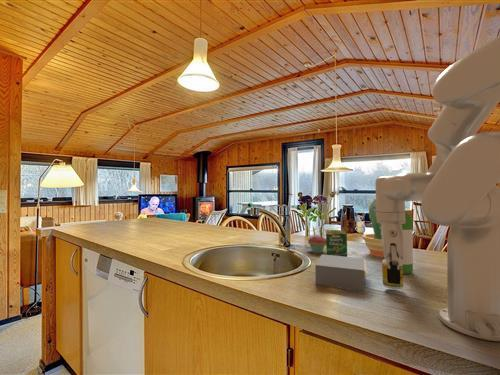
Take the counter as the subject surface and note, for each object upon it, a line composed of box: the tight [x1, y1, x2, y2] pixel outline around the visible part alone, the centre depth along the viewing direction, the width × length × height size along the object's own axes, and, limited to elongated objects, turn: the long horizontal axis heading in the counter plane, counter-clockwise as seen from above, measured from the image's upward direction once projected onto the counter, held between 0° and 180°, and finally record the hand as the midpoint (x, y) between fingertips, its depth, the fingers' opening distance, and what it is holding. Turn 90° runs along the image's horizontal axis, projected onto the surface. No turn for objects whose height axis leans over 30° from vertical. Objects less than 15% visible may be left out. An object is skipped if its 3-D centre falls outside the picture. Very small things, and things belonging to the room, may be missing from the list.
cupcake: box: [307, 226, 326, 254], centre depth 125 cm, size 9×8×12 cm
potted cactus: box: [361, 198, 385, 258], centre depth 119 cm, size 15×15×25 cm
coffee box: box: [325, 229, 348, 257], centre depth 106 cm, size 8×3×13 cm, turn 63°
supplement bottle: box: [381, 255, 404, 290], centre depth 77 cm, size 5×5×10 cm
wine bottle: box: [399, 210, 414, 275], centre depth 95 cm, size 8×8×30 cm
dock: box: [314, 254, 367, 292], centre depth 86 cm, size 14×14×6 cm
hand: (392, 279), depth 77 cm, fingers closed on supplement bottle, 5 cm apart
